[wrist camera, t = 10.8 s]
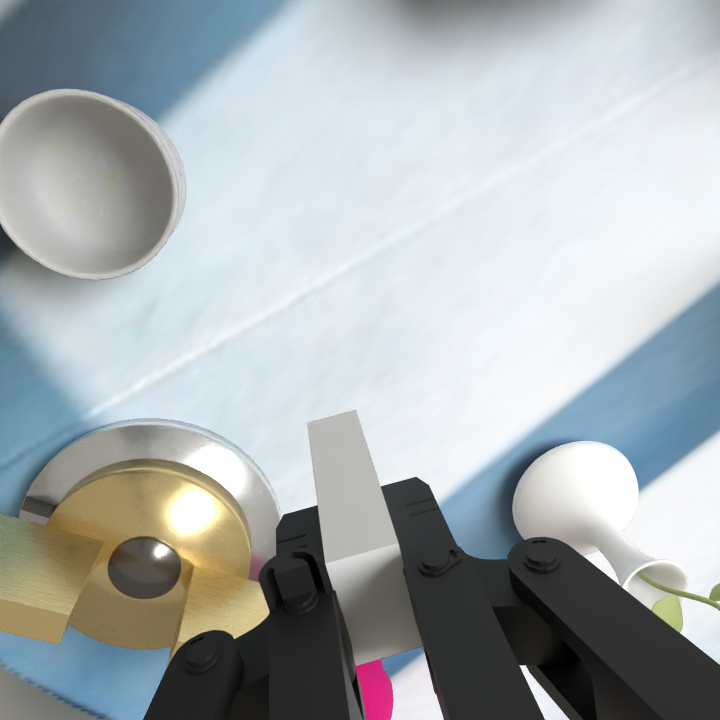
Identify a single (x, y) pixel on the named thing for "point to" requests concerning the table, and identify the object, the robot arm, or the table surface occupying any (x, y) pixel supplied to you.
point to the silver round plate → (165, 444)
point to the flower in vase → (599, 521)
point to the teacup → (88, 183)
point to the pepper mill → (375, 690)
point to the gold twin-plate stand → (132, 561)
